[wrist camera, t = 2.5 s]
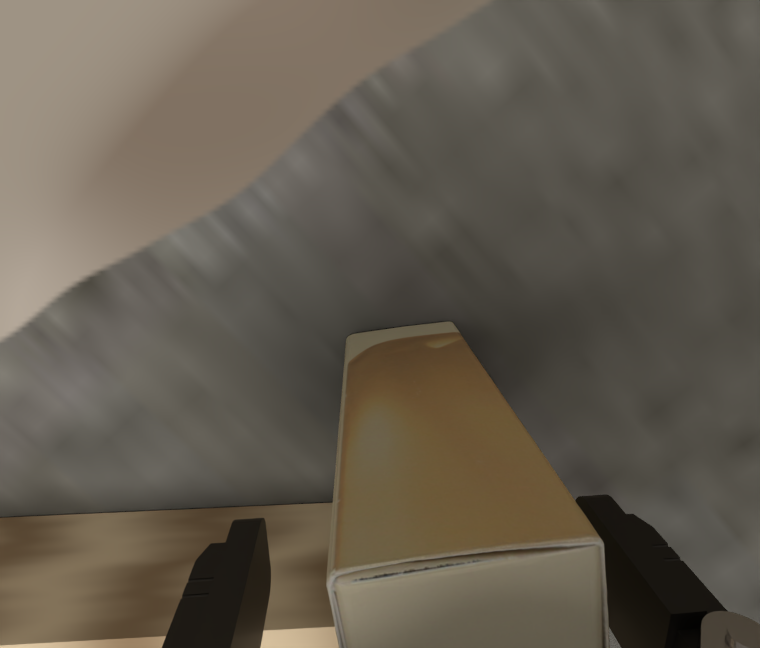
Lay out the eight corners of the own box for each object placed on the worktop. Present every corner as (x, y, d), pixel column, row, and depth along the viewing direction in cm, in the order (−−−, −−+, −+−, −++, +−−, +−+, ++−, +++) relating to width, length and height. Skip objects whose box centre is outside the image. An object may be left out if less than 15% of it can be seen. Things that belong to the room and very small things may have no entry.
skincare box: (467, 454, 20) (616, 827, 9) (366, 469, 20) (381, 863, 9) (453, 310, 19) (622, 541, 7) (341, 326, 18) (319, 586, 7)
